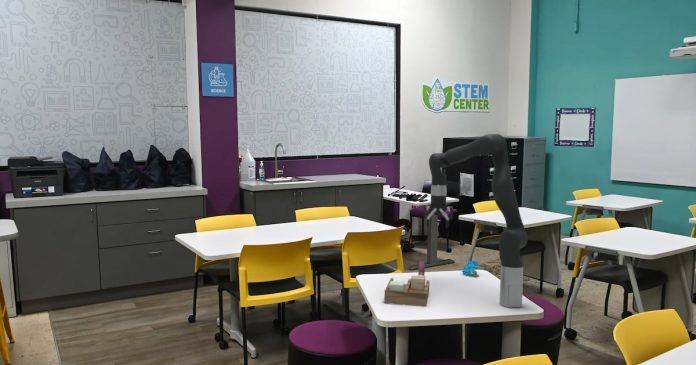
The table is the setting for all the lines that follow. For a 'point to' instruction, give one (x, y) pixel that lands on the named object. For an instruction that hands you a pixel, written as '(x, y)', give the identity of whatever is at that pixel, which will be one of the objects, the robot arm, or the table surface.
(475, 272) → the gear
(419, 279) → the purple handled mallet
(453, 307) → the table surface
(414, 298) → the wooden tray
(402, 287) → the sage block
